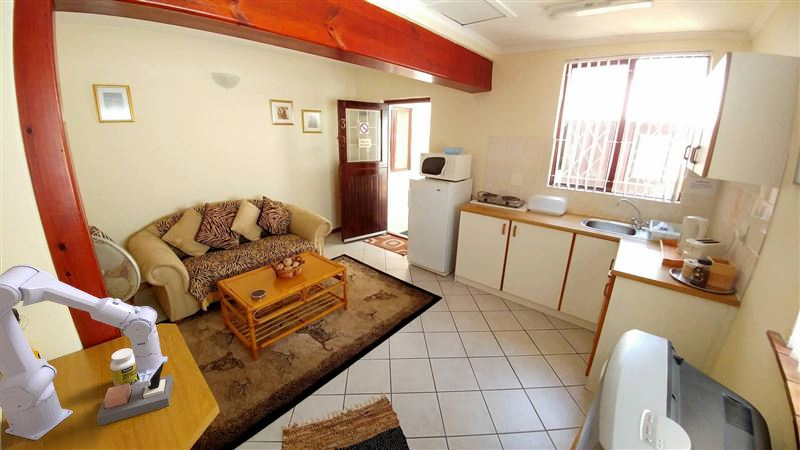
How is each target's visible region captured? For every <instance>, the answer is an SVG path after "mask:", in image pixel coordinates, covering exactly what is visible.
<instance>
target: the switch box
mask: <svg viewBox="0 0 800 450" xmlns="http://www.w3.org/2000/svg"><path fill="white" fill-rule="evenodd" d="M163 379H165V381H166V388H165V393H164V394H161V395H157V396H154V397H150V398H146V399H144V397H143V394H144V391H145V387H143V388H140V384H139V382H138V383H137V384H133V385H130V388H131V394H130V398H129V401H128V404H124V405H120V406H117V407H113V408H109V409H106V407H105V403H104V399H105V397H106V394H107V392H108V390H107V391H106V393H105V396H104V399H103V401H102V403H101V406H100V408H99V411H98V413H97V415H96V420H97V423H98V426H100V427H101V426H103V425H104V426H105V425H106V424H110V423H113V422H117V421H120V420H124V419H127V418H131V417H135V416H138V415H142V414H144V413H148V412H153V411H156V410H159V409H162V408H163V409H164V408H166V407H169V406H170V403H171V398H172V390H173V385H174V379H173V375H172V374H169V375H166V376H160V380H163Z"/></svg>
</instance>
